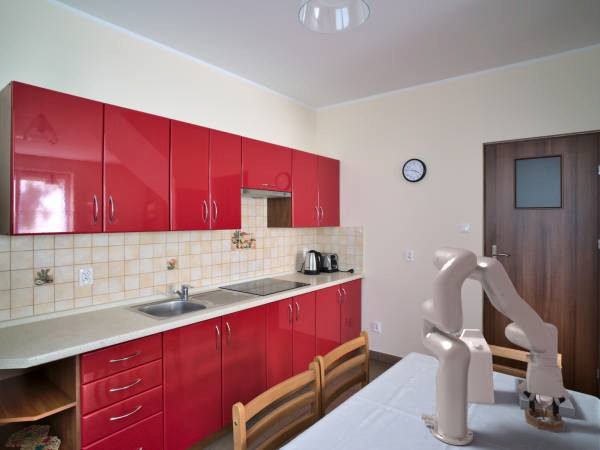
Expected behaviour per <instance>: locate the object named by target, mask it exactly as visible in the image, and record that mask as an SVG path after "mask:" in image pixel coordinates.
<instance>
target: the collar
mask: <svg viewBox="0 0 600 450" xmlns="http://www.w3.org/2000/svg"><path fill="white" fill-rule="evenodd" d="M536 417H542V418H543V412H542V408H537V407H535V413H532V410H531V409H530V408H527V409H525V410H524V418H525V421H526V424H528V425H530V426H532V427H534V428H536V429H537V430H541V431H547V432H550V433H558V432H560V431H563V430H565V428H564V427H565V426H564V425H565V424H564V423H565V422H564V419H563V417H561V416H560V415H558V414H557V417H555V416H554V415H553V412H552V411H550V410H548V409H545V416H544V417H545V418H547V419H549V420H550V421H549V422H545V421H540V420H538V419H539V418H536ZM551 421H553V422H551Z"/></svg>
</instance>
